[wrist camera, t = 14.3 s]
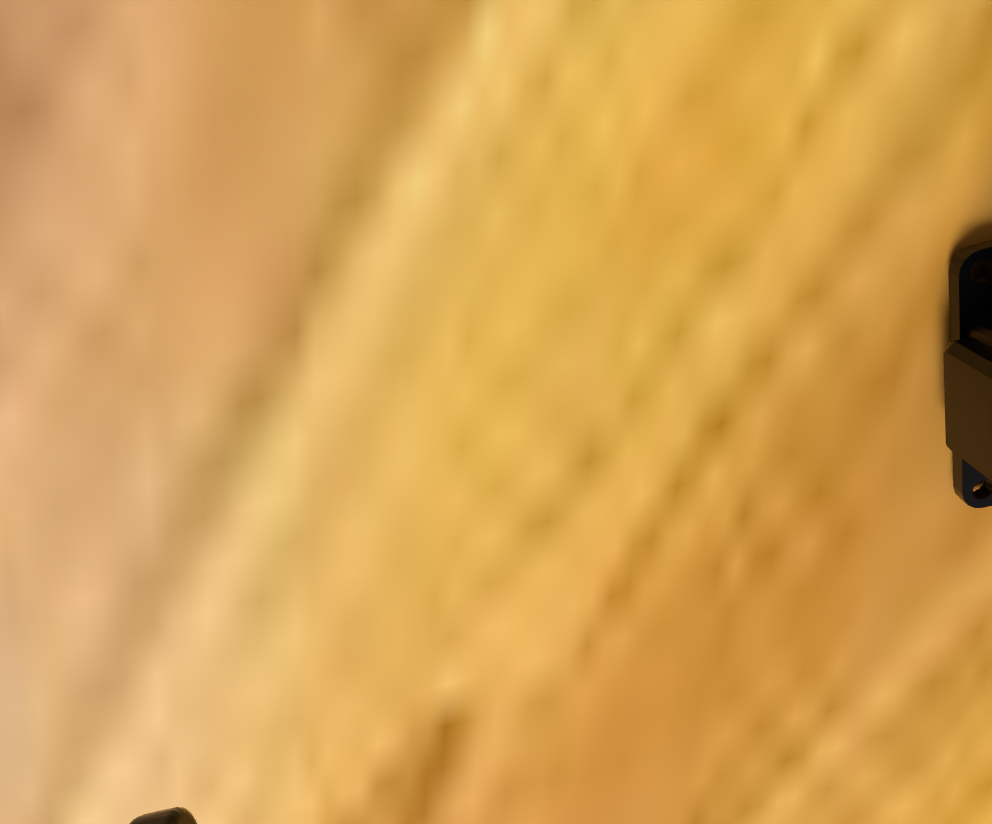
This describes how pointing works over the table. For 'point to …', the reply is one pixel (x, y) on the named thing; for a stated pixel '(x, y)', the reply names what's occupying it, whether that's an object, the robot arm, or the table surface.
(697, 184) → the table surface
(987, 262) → the robot arm
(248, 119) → the table surface
